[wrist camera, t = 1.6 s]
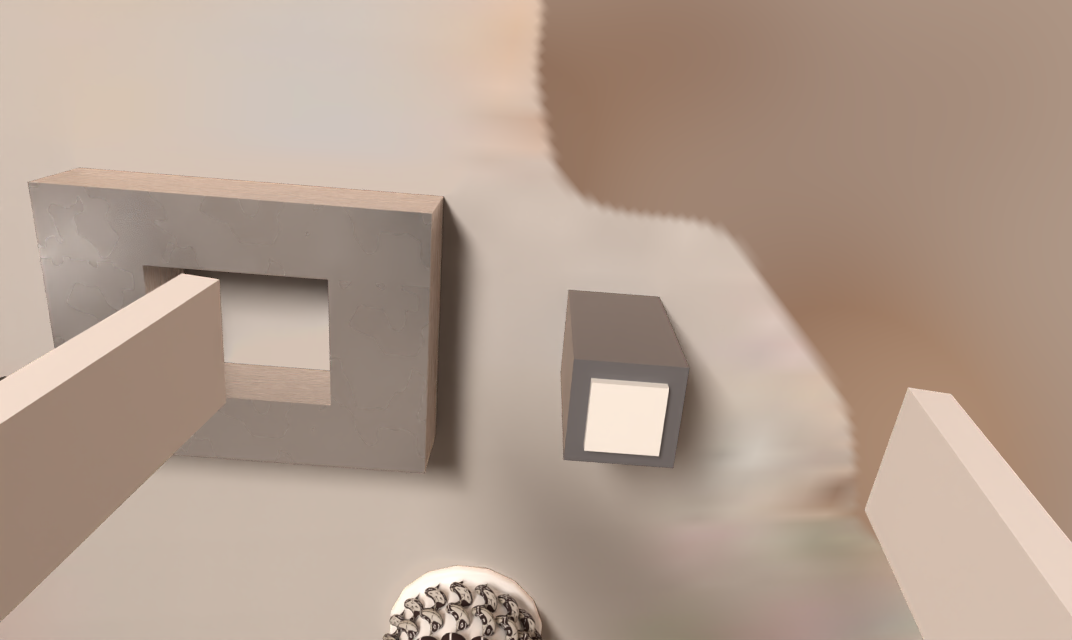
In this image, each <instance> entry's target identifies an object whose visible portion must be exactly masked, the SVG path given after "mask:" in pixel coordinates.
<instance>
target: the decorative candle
mask: <svg viewBox="0 0 1072 640" xmlns="http://www.w3.org/2000/svg"><path fill="white" fill-rule="evenodd" d="M541 630H542V622H541V619H540V617H539V614H538V611H537V608H536V605H535V603H534V600H533V599H532V598H531V597H530V596H529V595H528V594H527V593H526V592H525V591H524V590H523V589H522V588H521V587H520V586H519V585H518V584H517V583H516V582H515V581H514V580H512V579H510V578H508V577H505V576H503V575H501V574H499V573H497V572H494V571H492V570H490V569H488V568H480V567H470V566H460V565H455V566H451V567H447V568H442V569H438V570H434V571H429V572H427V573H425V574H424V575H422V576H421V577H419V578H418V579H416V580H415V581H413V582H412V583H410V584H409V585H407V586H406V587H405V588H404V590H403V591H402V593H401V594H400V596H399V598H398V599H397V601H396V603H395V604H394V606H393V608H392V611H391V618H390V633H387V634H385V635H384V636H383V640H542V637H541Z"/></svg>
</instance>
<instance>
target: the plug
mask: <svg viewBox="0 0 1072 640" xmlns="http://www.w3.org/2000/svg"><path fill="white" fill-rule="evenodd" d="M688 373H689V366H688V363H687V361H686V359H685V356H684V354H683V352H682V349H681V347H680V345H679V342H678V340H677V337H676V335H675V333H674V330H673V328H672V326H671V323H670V321H669V319H668V316H667V314H666V312H665V309H664V307H663V305H662V302H661V300H660V297H655V296H642V295H629V294H616V293H603V292H590V291H577V290H569V291H568V301H567V311H566V322H565V332H564V343H563V353H562V364H561V399H562V429H563V459H564V460H572V461H585V462H598V463H612V464H625V465H638V466H651V467H665V468H673V466H674V460H675V454H676V448H677V442H678V435H679V429H680V423H681V417H682V411H683V404H684V398H685V392H686V386H687V380H688Z"/></svg>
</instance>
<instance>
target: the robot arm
mask: <svg viewBox="0 0 1072 640" xmlns="http://www.w3.org/2000/svg"><path fill="white" fill-rule="evenodd" d="M225 403H226V389H225V370H224V352H223V334H222V316H221V297H220V279H214V278H208V277H201V276H195V275H189V274H180V275H178V276H177V277H175V278H173V279H172V280H170V281H168V282H167V283H165V284H163V285H161V286H160V287H158V288H156V289H155V290H153V291H151V292H150V293H148V294H146V295H145V296H143V297H141V298H139V299H138V300H136V301H134V302H133V303H131V304H129V305H128V306H126V307H124V308H123V309H121V310H119V311H118V312H116V313H114V314H112V315H111V316H109V317H107V318H106V319H104V320H102V321H101V322H99V323H97V324H96V325H94V326H92V327H90V328H89V329H87V330H85V331H84V332H82V333H80V334H79V335H77V336H75V337H74V338H72V339H70V340H68V341H67V342H65V343H63V344H62V345H60V346H58V347H57V348H55V349H53V350H52V351H50V352H48V353H47V354H45V355H43V356H41V357H40V358H38V359H36V360H35V361H33V362H31V363H30V364H28V365H26V366H25V367H23V368H21V369H19V370H18V371H16V372H14V373H13V374H11V375H9V376H8V377H5V376H4V377H1V378H0V622H1V621H2V620H3V619H4V618H5V617H6V616H7V615H8V614H9V613H10V612H11V611H12V610H13V609H14V608H15V607H16V606H17V605H18V604H19V603H20V602H22V601H23V600H24V599H25V598H26V597H27V596H28V595H29V594H30V593H31V592H32V591H33V590H34V589H35V588H36V587H37V586H38V585H39V584H40V583H41V582H42V581H43V580H44V579H45V578H46V577H47V576H48V575H49V574H50V573H51V572H52V571H53V570H54V569H55V568H56V567H58V566H59V565H60V564H61V563H62V562H63V561H64V560H65V559H66V558H67V557H68V556H69V555H70V554H71V553H72V552H73V551H74V550H75V549H76V548H77V547H78V546H79V545H80V544H81V543H82V542H83V541H84V540H85V539H86V538H87V537H88V536H89V535H90V534H91V533H93V532H94V531H95V530H96V529H97V528H98V527H99V526H100V525H101V524H102V523H103V522H104V521H105V520H106V519H107V518H108V517H109V516H110V515H111V514H112V513H113V512H114V511H115V510H116V509H117V508H118V507H119V506H120V505H121V504H122V503H123V502H124V501H125V500H126V499H128V498H129V497H130V496H131V495H132V494H133V493H134V492H135V491H136V490H137V489H138V488H139V487H140V486H141V485H142V484H143V483H144V482H145V481H146V480H147V479H148V478H149V477H150V476H151V475H152V474H153V473H154V472H155V471H156V470H157V469H158V468H159V467H160V466H161V465H163V464H164V463H165V462H166V461H167V460H168V459H169V458H170V457H171V456H172V455H173V454H174V453H175V452H176V451H177V450H178V449H179V448H180V447H181V446H182V445H183V444H184V443H185V442H186V441H187V440H188V439H189V438H190V437H191V436H192V435H193V434H194V433H195V432H196V431H198V430H199V429H200V428H201V427H202V426H203V425H204V424H205V423H206V422H207V421H208V420H209V419H210V418H211V417H212V416H213V415H214V414H215V413H216V412H217V411H218V410H219V409H220V408H221V407H222V406H223V405H224V404H225ZM865 512H866V514H867V516H868V518H869V521H870V523H871V525H872V527H873V529H874V532H875V534H876V536H877V538H878V540H879V543H880V545H881V547H882V549H883V551H884V554H885V556H886V558H887V560H888V562H889V565H890V567H891V569H892V571H893V573H894V576H895V578H896V580H897V582H898V584H899V587H900V589H901V591H902V593H903V595H904V598H905V600H906V602H907V604H908V606H909V609H910V611H911V613H912V615H913V617H914V620H915V622H916V624H917V626H918V628H919V631H920V633H921V635H922V637H923V639H924V640H1072V543H1071V541H1070V540H1069V539H1068V538H1067V537H1066V535H1065V534H1064V533H1063V531H1062V530H1061V529H1060V528H1059V527H1058V525H1057V524H1056V523H1055V522H1054V520H1052V518H1051V517H1050V515H1049V514H1048V513H1047V512H1046V511H1045V509H1044V508H1043V507H1042V506H1041V504H1040V503H1039V502H1038V501H1037V499H1036V498H1035V497H1034V496H1033V494H1032V493H1031V492H1030V491H1029V490H1028V488H1027V487H1026V486H1025V485H1024V484H1023V482H1022V481H1021V480H1020V478H1019V477H1018V476H1017V475H1016V474H1015V472H1014V471H1013V470H1012V469H1011V467H1010V466H1009V465H1008V464H1007V462H1006V461H1005V460H1004V459H1003V458H1002V457H1001V455H1000V454H999V453H998V452H997V450H996V449H995V448H994V446H993V445H992V444H991V443H990V442H989V440H988V439H987V438H986V437H985V435H984V434H983V433H982V432H981V430H980V429H979V428H978V427H977V425H976V424H975V423H974V422H973V421H972V419H971V418H970V417H969V416H968V414H966V412H965V411H964V410H963V408H962V407H961V406H960V405H959V404H958V402H957V401H956V400H955V398H954V397H953V396H952V395H951V394H947V393H939V392H934V391H927V390H921V389H914V388H908V390H907V392H906V395H905V398H904V401H903V404H902V407H901V409H900V412H899V415H898V418H897V421H896V423H895V426H894V429H893V432H892V434H891V437H890V440H889V443H888V446H887V448H886V452H885V454H884V457H883V460H882V462H881V465H880V468H879V471H878V474H877V476H876V479H875V482H874V485H873V488H872V491H871V493H870V496H869V499H868V502H867V505H866V508H865Z"/></svg>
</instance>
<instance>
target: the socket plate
mask: <svg viewBox="0 0 1072 640" xmlns="http://www.w3.org/2000/svg"><path fill="white" fill-rule="evenodd" d="M28 187H29V194H30V200H31V206H32V212H33V218H34V224H35V230H36V237H37V243H38V249H39V255H40V261H41V267H42V273H43V280H44V286H45V292H46V298H47V304H48V310H49V317H50V323H51V329H52V335H53V341H54V347H55V348H57V347H58V346H60V345H62V344H63V343H65V342H67V341H68V340H70V339H72V338H74V337H75V336H77V335H79V334H80V333H82V332H84V331H85V330H87V329H89V328H90V327H92V326H94V325H96V324H97V323H99V322H101V321H102V320H104V319H106V318H107V317H109V316H111V315H112V314H114V313H116V312H118V311H119V310H121V309H123V308H124V307H126V306H128V305H129V304H131V303H133V302H134V301H136V300H138V299H139V298H141V297H143V296H145V295H146V294H148V293H150V292H151V291H153V290H155V289H156V288H158V287H160V286H161V285H163V284H165V283H167V282H168V281H170V280H172V279H173V278H175V277H177V276H178V275H180V274H184V269H196V270H209V271H222V272H235V273H248V274H261V275H274V276H287V277H300V278H313V279H326V280H328V305H329V349H330V371H328V370H314V369H301V368H288V367H275V366H262V365H248V364H235V363H224V370H225V389H226V403H225V404H224V405H223V406H222V407H221V408H220V409H219V410H218V411H217V412H216V413H215V414H214V415H213V416H212V417H211V418H210V419H209V420H208V421H207V422H206V423H205V424H204V425H203V426H202V427H201V428H200V429H199V430H198V431H196V432H195V433H194V434H193V435H192V436H191V437H190V438H189V439H188V440H187V441H186V442H185V443H184V444H183V445H182V446H181V447H180V448H179V449H178V450H177V451H176V452H175V453H174V454H173V455H183V456H197V457H210V458H224V459H237V460H251V461H264V462H278V463H291V464H305V465H318V466H332V467H345V468H359V469H372V470H385V471H399V472H412V473H425V471H426V467H427V464H428V460H429V457H430V453H431V450H432V446H433V443H434V439H435V436H436V408H437V377H438V347H439V316H440V285H441V255H442V224H443V196H435V195H422V194H409V193H396V192H384V191H371V190H358V189H345V188H333V187H320V186H307V185H294V184H282V183H269V182H256V181H243V180H231V179H218V178H205V177H193V176H180V175H167V174H154V173H142V172H129V171H116V170H103V169H91V168H76V169H73V170H69V171H65V172H62V173H58V174H55V175H51V176H47V177H44V178H40V179H37V180H33V181H29V182H28Z"/></svg>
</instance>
